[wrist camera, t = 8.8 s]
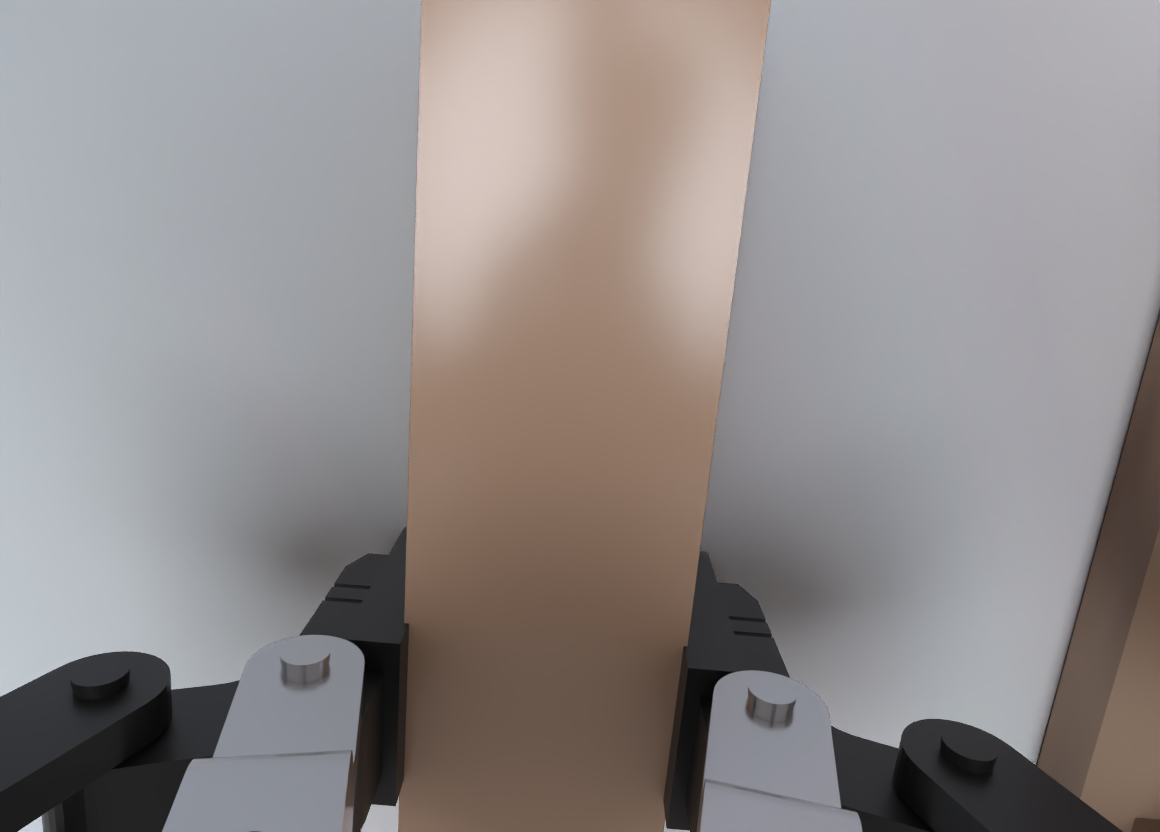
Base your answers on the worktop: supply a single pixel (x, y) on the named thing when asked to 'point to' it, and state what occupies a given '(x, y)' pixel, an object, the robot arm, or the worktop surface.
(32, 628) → the worktop surface
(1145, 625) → the pegged brown baseplate
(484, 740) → the clay strip
